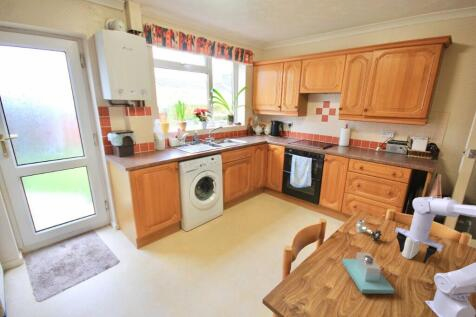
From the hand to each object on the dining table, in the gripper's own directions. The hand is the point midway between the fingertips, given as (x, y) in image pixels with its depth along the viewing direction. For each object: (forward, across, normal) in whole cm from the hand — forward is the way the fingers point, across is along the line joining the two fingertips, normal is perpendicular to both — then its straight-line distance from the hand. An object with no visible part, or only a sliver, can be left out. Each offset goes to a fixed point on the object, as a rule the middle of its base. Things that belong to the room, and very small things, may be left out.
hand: (412, 256), depth 87 cm
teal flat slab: (+10, -10, -15) cm, 21 cm away
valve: (+11, -24, +18) cm, 31 cm away
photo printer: (+11, -4, +18) cm, 22 cm away
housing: (+7, -10, -15) cm, 19 cm away
